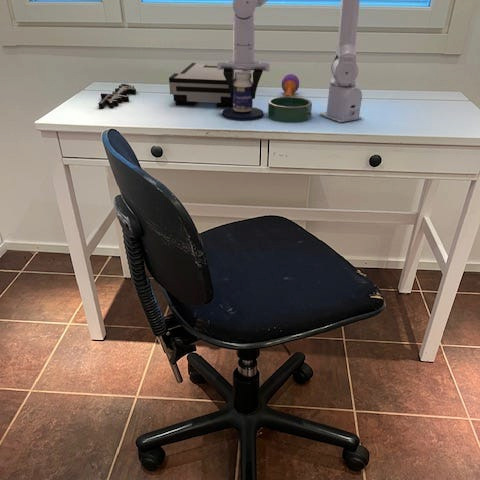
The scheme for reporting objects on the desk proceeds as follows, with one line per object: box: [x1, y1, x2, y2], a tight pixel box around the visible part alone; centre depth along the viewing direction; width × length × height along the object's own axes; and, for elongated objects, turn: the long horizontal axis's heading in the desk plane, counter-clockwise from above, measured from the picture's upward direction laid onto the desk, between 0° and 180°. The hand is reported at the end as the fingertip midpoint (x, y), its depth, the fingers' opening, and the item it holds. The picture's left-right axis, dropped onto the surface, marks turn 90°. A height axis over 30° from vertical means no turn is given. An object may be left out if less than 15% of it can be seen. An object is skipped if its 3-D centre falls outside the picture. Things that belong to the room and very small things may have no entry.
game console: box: [168, 62, 252, 109], centre depth 159 cm, size 21×32×8 cm, turn 172°
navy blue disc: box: [221, 106, 265, 122], centre depth 143 cm, size 12×12×1 cm
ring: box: [267, 96, 313, 123], centre depth 141 cm, size 12×12×4 cm
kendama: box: [281, 73, 300, 97], centre depth 158 cm, size 6×6×20 cm
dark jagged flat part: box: [97, 83, 137, 110], centre depth 158 cm, size 27×2×10 cm
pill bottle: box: [233, 71, 254, 112], centre depth 140 cm, size 6×6×10 cm
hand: (243, 97), depth 141 cm, fingers closed on pill bottle, 5 cm apart
